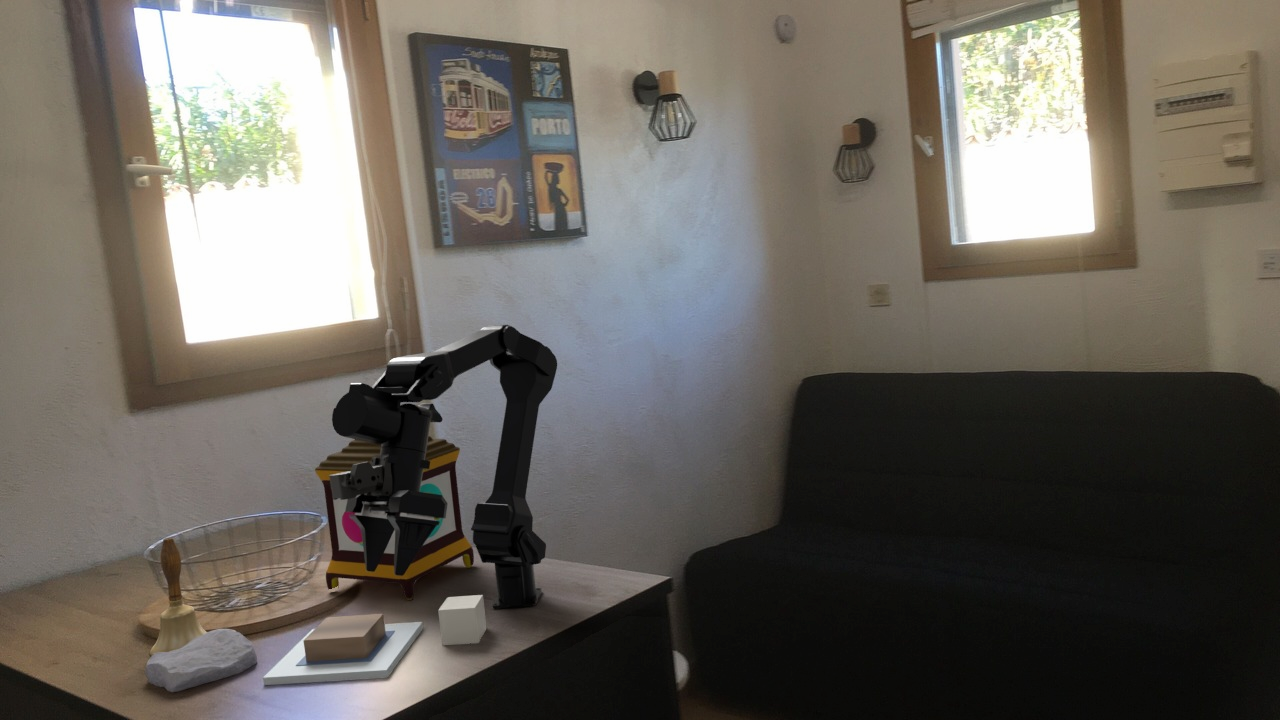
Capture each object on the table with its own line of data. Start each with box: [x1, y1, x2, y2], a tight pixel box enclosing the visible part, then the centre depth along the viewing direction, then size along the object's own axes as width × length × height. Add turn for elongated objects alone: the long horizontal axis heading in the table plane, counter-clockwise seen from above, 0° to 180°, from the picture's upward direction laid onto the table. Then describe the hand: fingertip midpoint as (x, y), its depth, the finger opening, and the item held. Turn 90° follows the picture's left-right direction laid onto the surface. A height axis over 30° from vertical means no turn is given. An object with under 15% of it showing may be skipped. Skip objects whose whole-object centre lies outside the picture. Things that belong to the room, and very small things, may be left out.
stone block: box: [145, 628, 258, 693], centre depth 127 cm, size 12×5×10 cm
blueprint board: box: [262, 613, 424, 686], centre depth 129 cm, size 16×16×4 cm
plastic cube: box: [438, 594, 487, 646], centre depth 132 cm, size 5×5×5 cm
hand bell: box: [149, 537, 208, 657], centre depth 137 cm, size 8×8×16 cm
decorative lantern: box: [314, 435, 475, 601], centre depth 158 cm, size 20×20×30 cm
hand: (384, 573), depth 121 cm, fingers open, 9 cm apart
